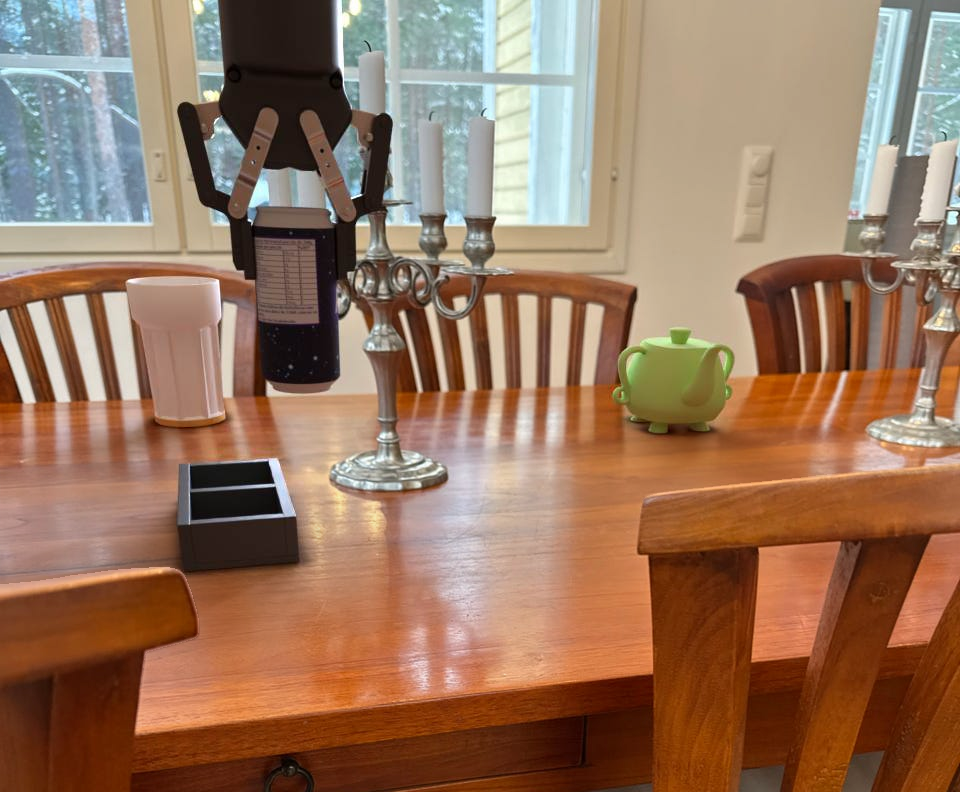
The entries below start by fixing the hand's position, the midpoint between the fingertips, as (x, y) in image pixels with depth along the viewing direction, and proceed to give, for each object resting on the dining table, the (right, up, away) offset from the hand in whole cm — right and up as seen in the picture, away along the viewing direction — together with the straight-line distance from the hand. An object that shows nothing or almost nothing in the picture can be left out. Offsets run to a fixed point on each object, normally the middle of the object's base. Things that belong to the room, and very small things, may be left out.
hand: (295, 278), depth 63 cm
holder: (-10, -15, +20) cm, 27 cm away
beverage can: (0, -7, +3) cm, 8 cm away
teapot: (+39, +4, +59) cm, 71 cm away
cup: (-26, +4, +58) cm, 63 cm away
